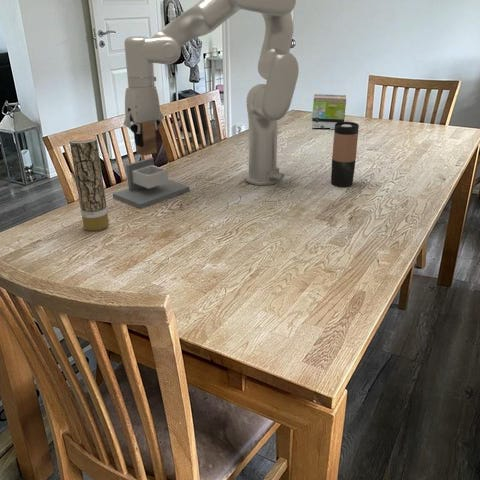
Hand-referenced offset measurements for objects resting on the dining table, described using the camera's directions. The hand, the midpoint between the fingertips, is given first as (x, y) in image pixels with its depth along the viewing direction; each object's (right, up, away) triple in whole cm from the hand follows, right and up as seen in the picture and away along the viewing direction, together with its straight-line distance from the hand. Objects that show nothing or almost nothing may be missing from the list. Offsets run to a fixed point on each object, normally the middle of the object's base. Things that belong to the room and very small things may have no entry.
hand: (146, 143), depth 151 cm
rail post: (0, -3, +1) cm, 3 cm away
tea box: (+71, +24, +86) cm, 114 cm away
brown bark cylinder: (-11, -26, -14) cm, 32 cm away
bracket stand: (+1, -15, +8) cm, 17 cm away
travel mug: (+63, -11, +15) cm, 66 cm away
